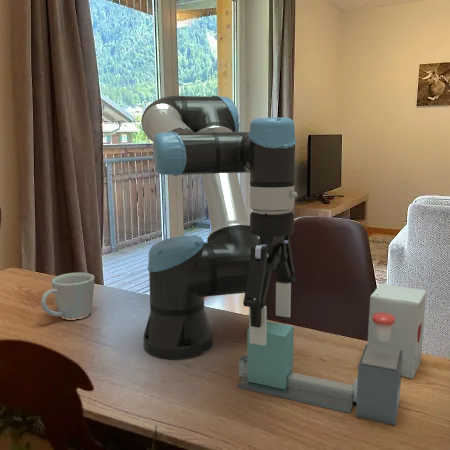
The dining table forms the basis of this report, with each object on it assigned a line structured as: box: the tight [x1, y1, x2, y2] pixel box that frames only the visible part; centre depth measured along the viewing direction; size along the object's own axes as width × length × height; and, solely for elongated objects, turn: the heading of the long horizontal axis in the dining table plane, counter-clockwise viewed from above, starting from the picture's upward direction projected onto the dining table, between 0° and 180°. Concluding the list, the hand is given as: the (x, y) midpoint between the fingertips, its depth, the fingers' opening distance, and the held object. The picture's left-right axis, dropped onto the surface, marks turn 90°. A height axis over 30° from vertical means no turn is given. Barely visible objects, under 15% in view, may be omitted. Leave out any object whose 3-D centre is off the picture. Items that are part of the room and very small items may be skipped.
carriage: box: [246, 321, 295, 390], centre depth 84 cm, size 7×5×10 cm
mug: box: [40, 272, 95, 319], centre depth 117 cm, size 10×15×10 cm
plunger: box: [372, 312, 395, 342], centre depth 75 cm, size 3×3×4 cm
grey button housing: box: [355, 344, 403, 426], centre depth 77 cm, size 6×8×9 cm
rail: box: [237, 355, 358, 414], centre depth 83 cm, size 22×7×4 cm, turn 65°
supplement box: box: [366, 283, 427, 380], centre depth 91 cm, size 9×9×15 cm
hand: (271, 328), depth 83 cm, fingers open, 13 cm apart
